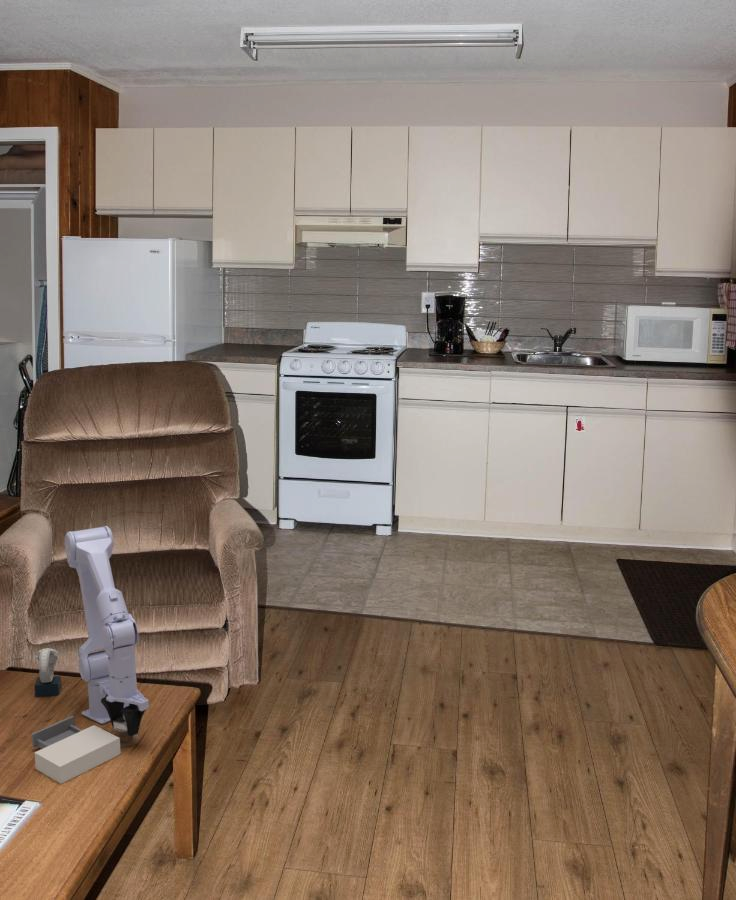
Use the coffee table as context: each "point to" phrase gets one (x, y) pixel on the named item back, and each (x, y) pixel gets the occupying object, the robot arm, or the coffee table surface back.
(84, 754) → the player
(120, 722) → the disc
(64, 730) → the tray
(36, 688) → the watch
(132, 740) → the stand
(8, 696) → the coffee table surface
